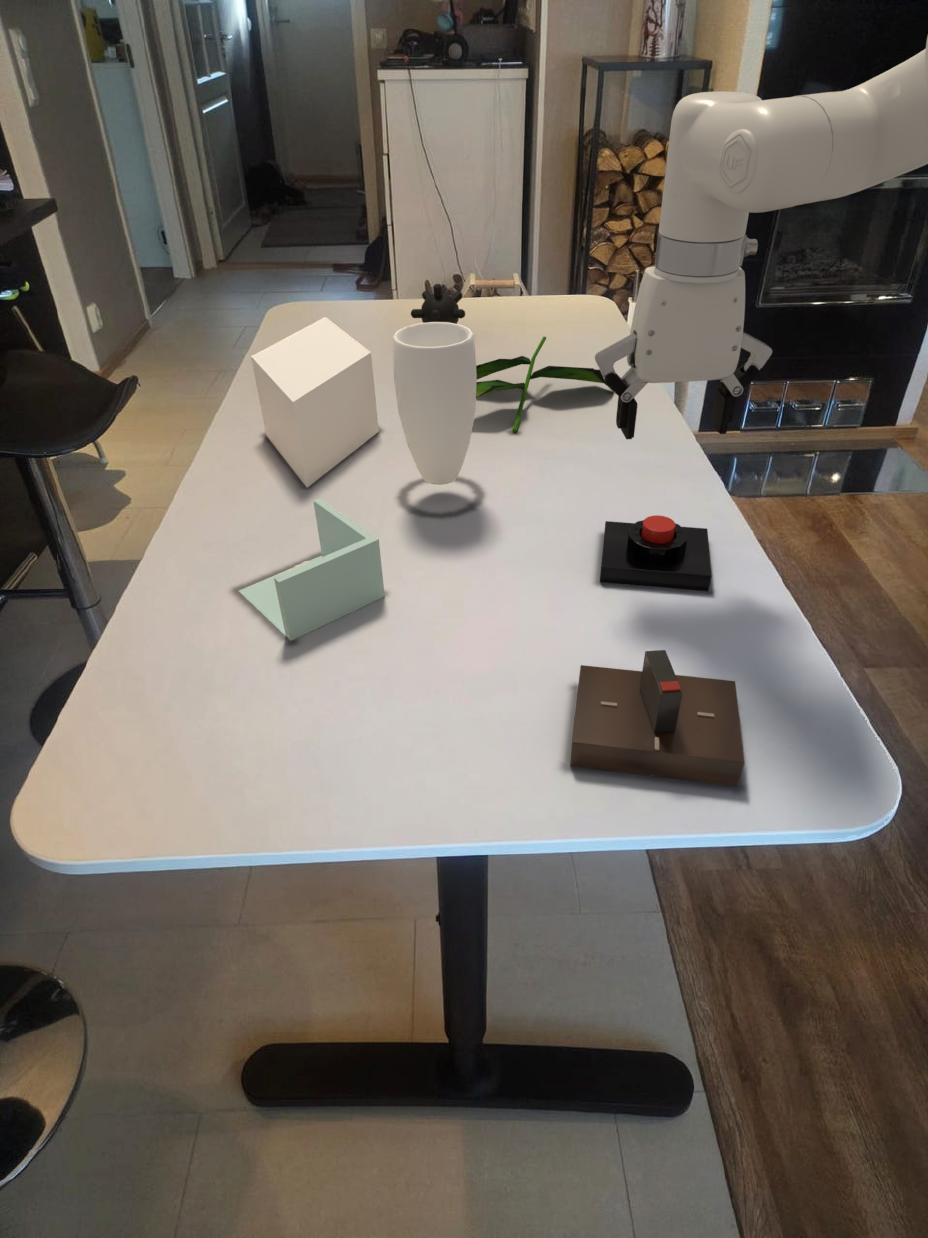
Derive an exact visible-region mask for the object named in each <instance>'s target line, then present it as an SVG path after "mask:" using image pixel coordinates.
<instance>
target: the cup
mask: <svg viewBox="0 0 928 1238" xmlns="http://www.w3.org/2000/svg"><path fill="white" fill-rule="evenodd" d="M391 340H392V341H391V342H392V343H391V344H392V362H393V363H392V364H393V366H392V367H393V381H394V388H395V389H394V390H395V396H396V404H397V413H398V416H399V420H400V424H401V426H402V430H403V434H404V436H405V440H406V445H407V447H408V449H409V452H410V454H411V456H412V459H413V461H414V464H415V466H416V468H417V470H418V472H419V474H420V476H421V477H422V480H423V481H424V482H426V483H427V484H431V485H438V486H442V485H447V484H451V483H453V482H454V481H456V480H457V478H458V477H459V474H460V472H461V470H462V467H463V466H464V463H465V462H464V461H465V458H466V455H467V452H468V449H469V446H470V442H471V437H472V431H473V428H474V427H473V426H474V422H475V416H476V410H477V408H476V407H477V397H476V382H477V373H476V366H477V357H476V338H475V334H474V333H473V332H472V329H471V328H469V327H467V326H465V325H463V324H460V323H457V324H455V323H449V322H428V323H423V322H419V323H415V324H410V325H406V326H404V327H402V328H400V329H397V331H396V332H395V334H394V335H393V336H392V338H391Z"/></svg>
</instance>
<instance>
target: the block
mask: <svg viewBox="0 0 928 1238" xmlns="http://www.w3.org/2000/svg"><path fill="white" fill-rule="evenodd" d="M250 358H251V363H252V368H253V369H252V370H253V373H254V378H255V385H256V389H257V395H258V400H259V406H260V410H261V416H262V421H263V426H264V432H265V436H266V437H267V438H268V439H269V441H270V442H271V444H272V445H273V446H274V447H275V449H276V450H277V452H279V454H280V455H281V456H282V458H283V459H284V461H285V462H286V463H287V464H288V466H289V467H290V469H292V471H293V472H294V473H295V475H296V476H297V477H298V478H299V480H300V481H301V482H302V484H303V485H304V486H305V488H309V487H310V486H311V485H313V484H314V483H315V482H316V481H318V480H319V479H320V478H322V477H323V476H325V475H326V474H327V473H328V472H330V470H332V469H334V468H335V467H336V466H337V465H338V464H339V463H341V462H342V461H344V460H345V459H346V458H347V457H348V456H351V454H352V453H354V452H355V451H356V450H357V449H359V448H360V447H361V446H363V445H364V444H365V443H366V442H368V441H369V440H370V439H371V438H373V437H375V436H376V434H378V433H379V432H380V429H379V420H378V419H379V418H378V410H377V398H376V389H375V379H374V367H373V358H372V352H371V351H370V350H369V349H367V348H366V347H365V346H364V345H362V344H361V343H360V342H359V341H357V340H356V339H355V338H353V337H352V336H351V335H349V334H348V333H347V332H346V331H344V330H343V329H342V328H341V327H339V326H338V325H336V323H334V322H333V321H331V320H330V319H329V318H328V317H326V316H324V317H321V318H320V319H318V320H317V321H313V323H310V324H309V325H306V326H305V327H303V328H301V329H299V330H298V331H296V332H293V333H292V334H290V335H288V336H287V337H285V338H282V339H281V340H279V341H277V342H275V343H273V344H272V345H270V346H268V347H266V348H264V349H262V350H260V351H258V352H256V353H254V354H253V355H251V356H250Z"/></svg>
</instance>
